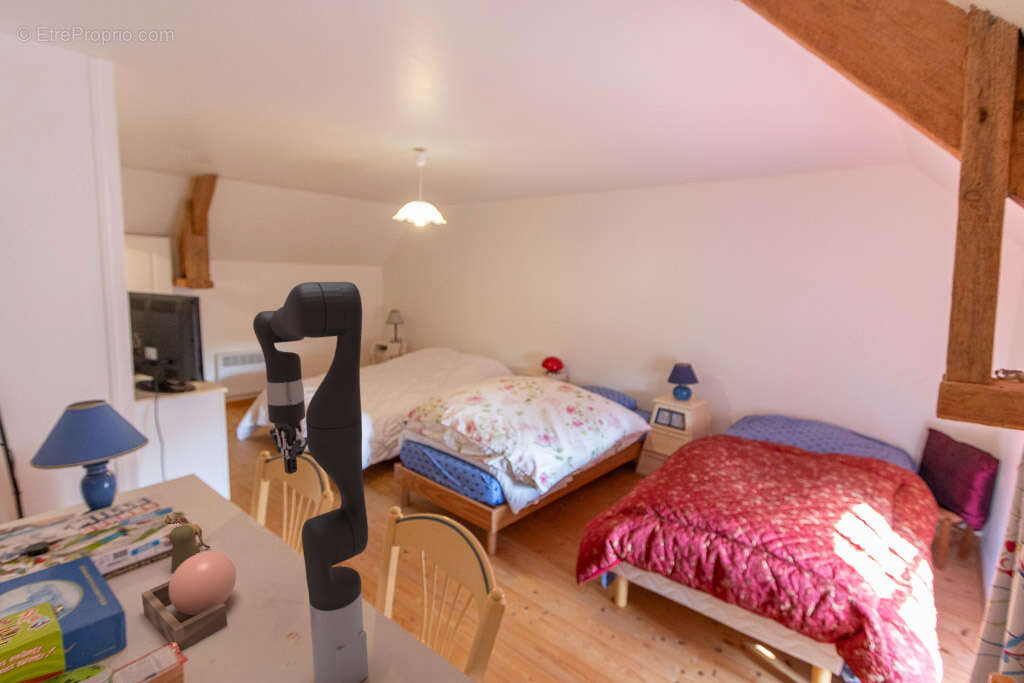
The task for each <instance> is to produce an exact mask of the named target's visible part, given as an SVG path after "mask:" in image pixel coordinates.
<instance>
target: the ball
mask: <svg viewBox="0 0 1024 683" xmlns="http://www.w3.org/2000/svg"><path fill="white" fill-rule="evenodd" d="M169 581H170V583H169V598H170V601H171V603H172V604H171V605H172V606H173V607H174V608H175V609H176V610H177V611H178V612H180V613H182V614H184V615H187V616H196V615H198V614H200V613H202V612H204V611H206V610H208V609H210V608H212V607H214V606H216V605H217V604H219V603H221V602H223V603H224V604H225V602H226V601H227V599H229V597H230V595H231V594H232V593H233V590H234V588H235V586H236V581H237V571H236V566H235V564H234V563H233V561H232V559H231V558H229V557H228V556H227V555H225V554H223V553H221V552H218V551H209V550H208V551H203V552H198V553H196V555H194V556H192V557H190V558H188V559H187V560H185V561H184V562H183V563H182V564H181V565H180V566H179V567H178V568H177V569H176V571H175V572H174V574H173V573H172V576H171V578H170V580H169Z"/></svg>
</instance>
